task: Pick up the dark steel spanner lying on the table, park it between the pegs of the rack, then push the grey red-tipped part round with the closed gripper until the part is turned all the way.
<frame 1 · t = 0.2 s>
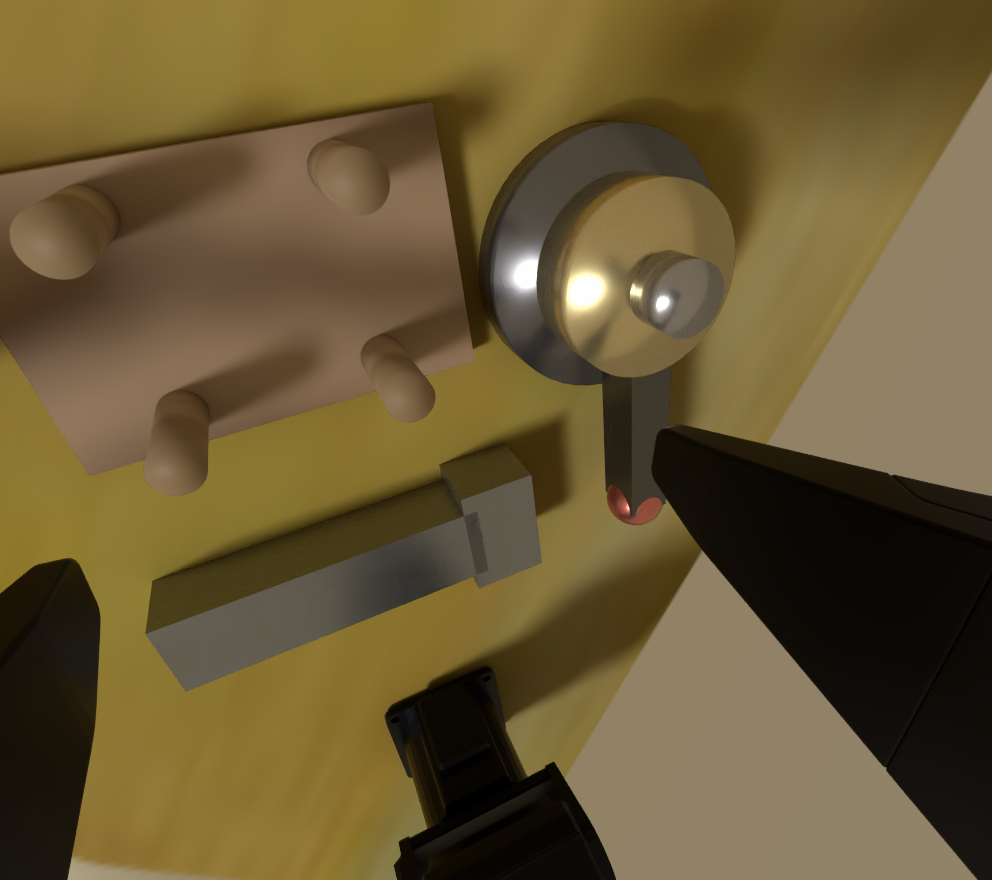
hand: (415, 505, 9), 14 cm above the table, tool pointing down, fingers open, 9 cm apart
grey red-tipped part: (635, 376, 24), point 3 cm above the table, hinge at 0.0°
spanner: (325, 552, 26), on the table
rack: (253, 287, 20), on the table
nut base: (591, 258, 24), on the table
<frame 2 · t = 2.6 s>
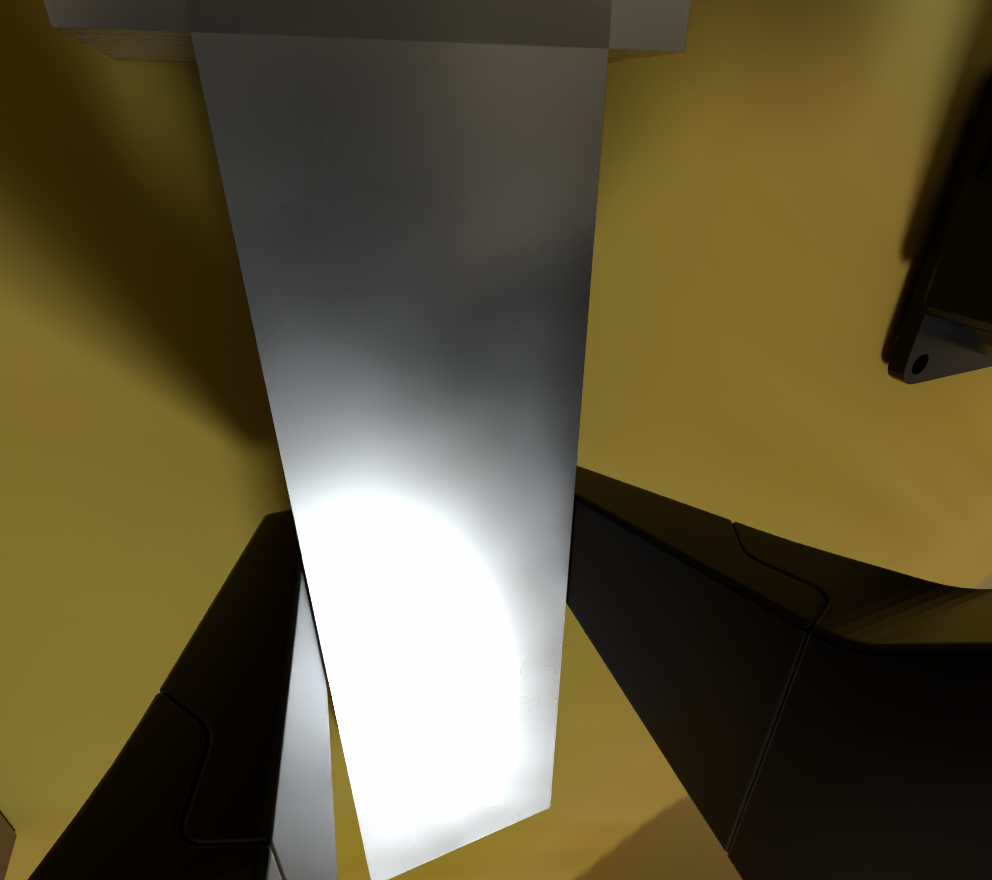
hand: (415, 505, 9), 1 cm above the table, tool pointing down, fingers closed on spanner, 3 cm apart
spanner: (396, 469, 10), on the table, touching gripper
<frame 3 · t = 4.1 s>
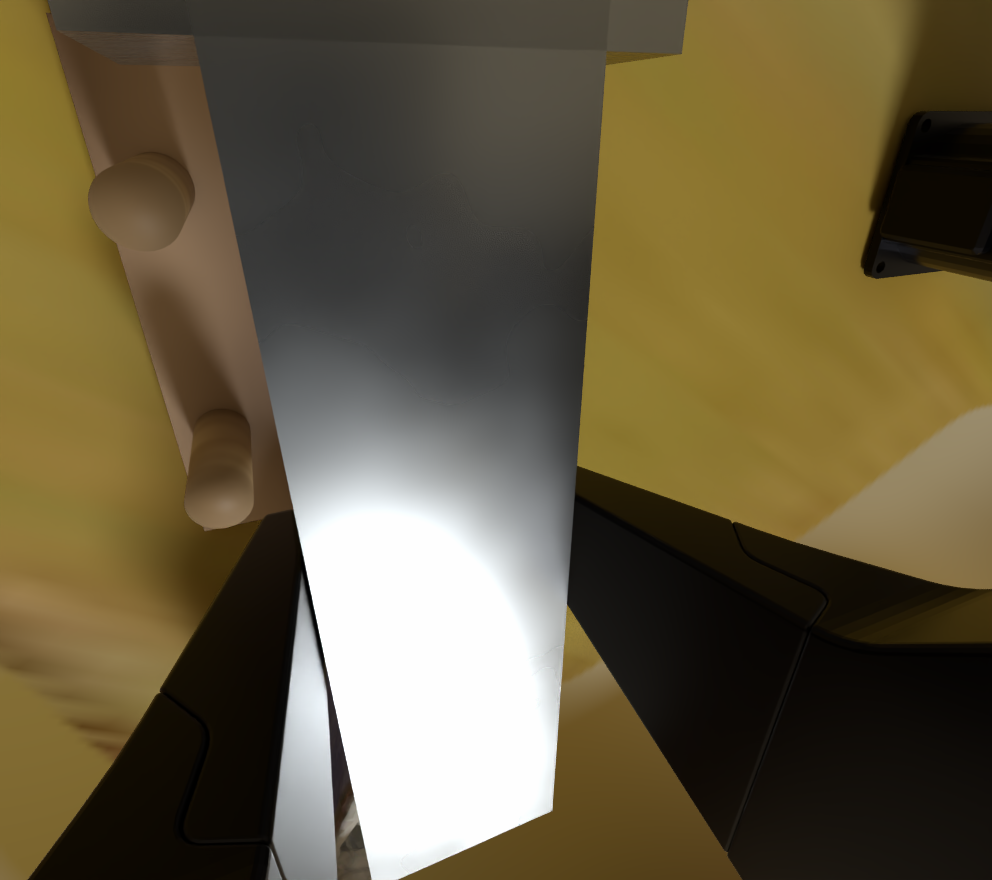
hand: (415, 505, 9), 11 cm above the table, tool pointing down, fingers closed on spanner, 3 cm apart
spanner: (397, 471, 10), point 10 cm above the table, touching gripper
rack: (308, 301, 18), on the table
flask: (313, 648, 25), on the table
when the fingers open (3 cm above the table, at t = 5.8 s): spanner stays where it is, resting on nut base, rack.
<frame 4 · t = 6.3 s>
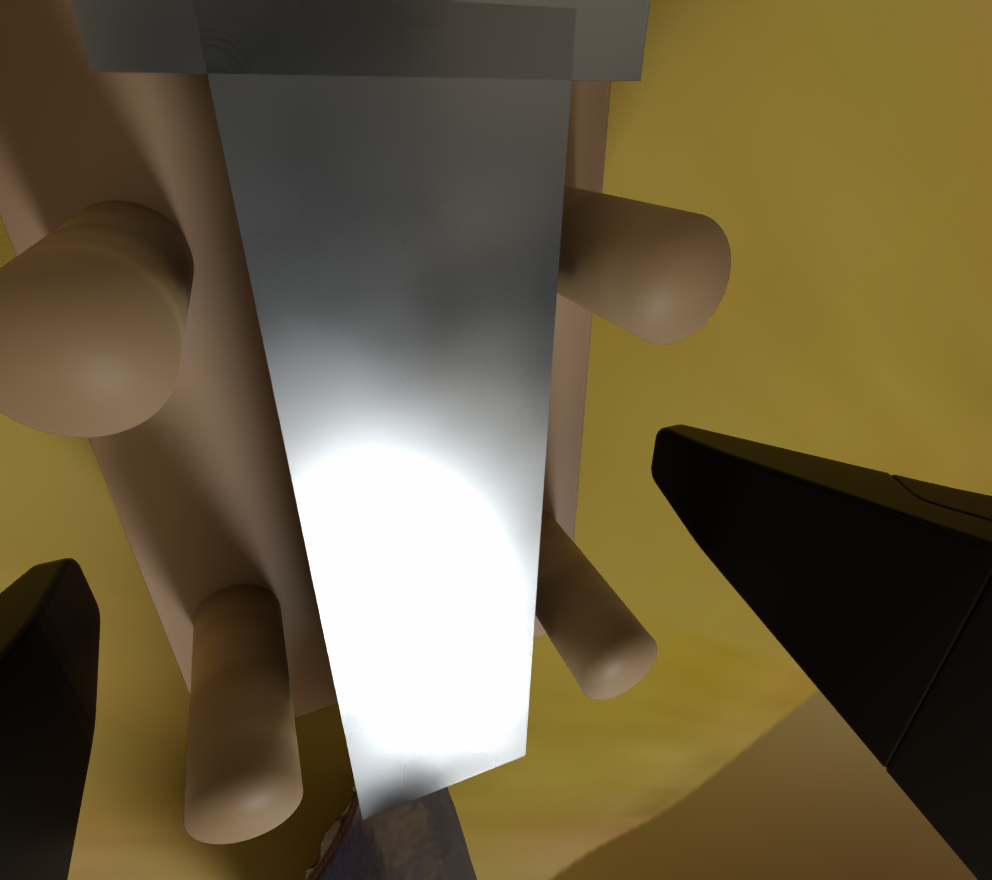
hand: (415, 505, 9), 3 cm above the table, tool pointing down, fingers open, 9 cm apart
spanner: (387, 446, 11), point 1 cm above the table, touching nut base, rack
rack: (367, 412, 12), on the table
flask: (355, 835, 19), on the table
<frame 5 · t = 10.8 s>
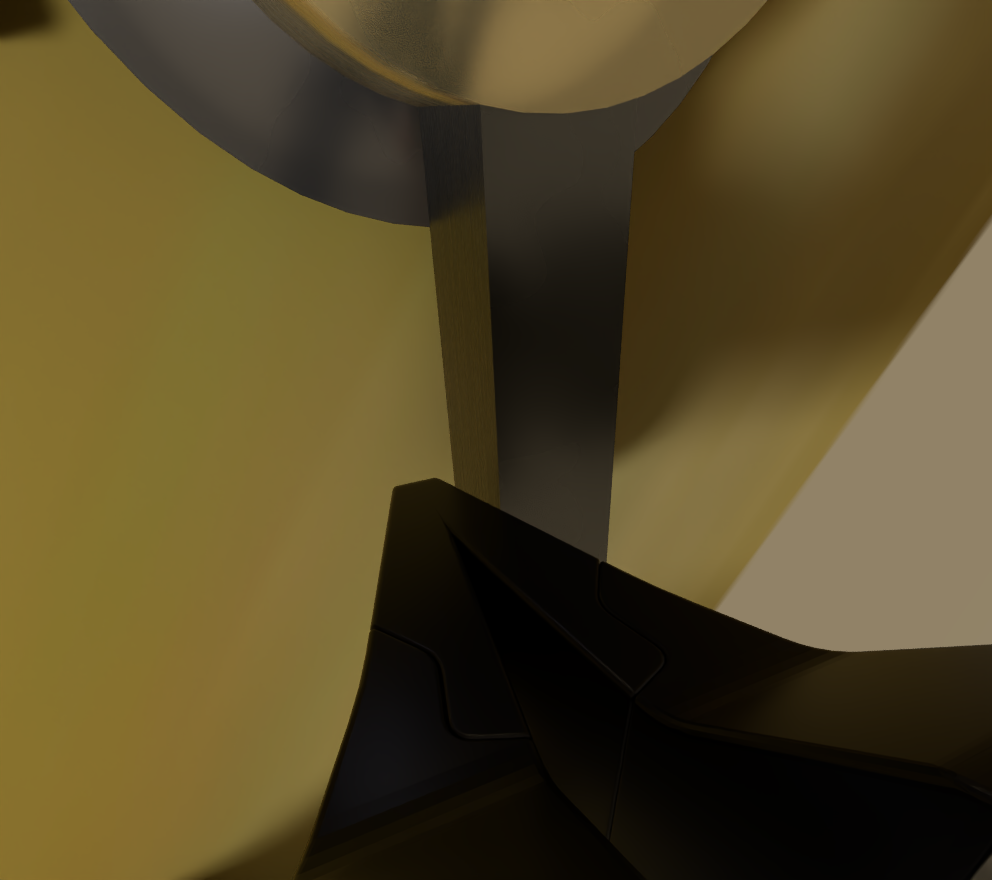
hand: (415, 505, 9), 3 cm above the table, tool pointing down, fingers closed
grey red-tipped part: (519, 173, 7), point 3 cm above the table, hinge at 0.0°, touching gripper
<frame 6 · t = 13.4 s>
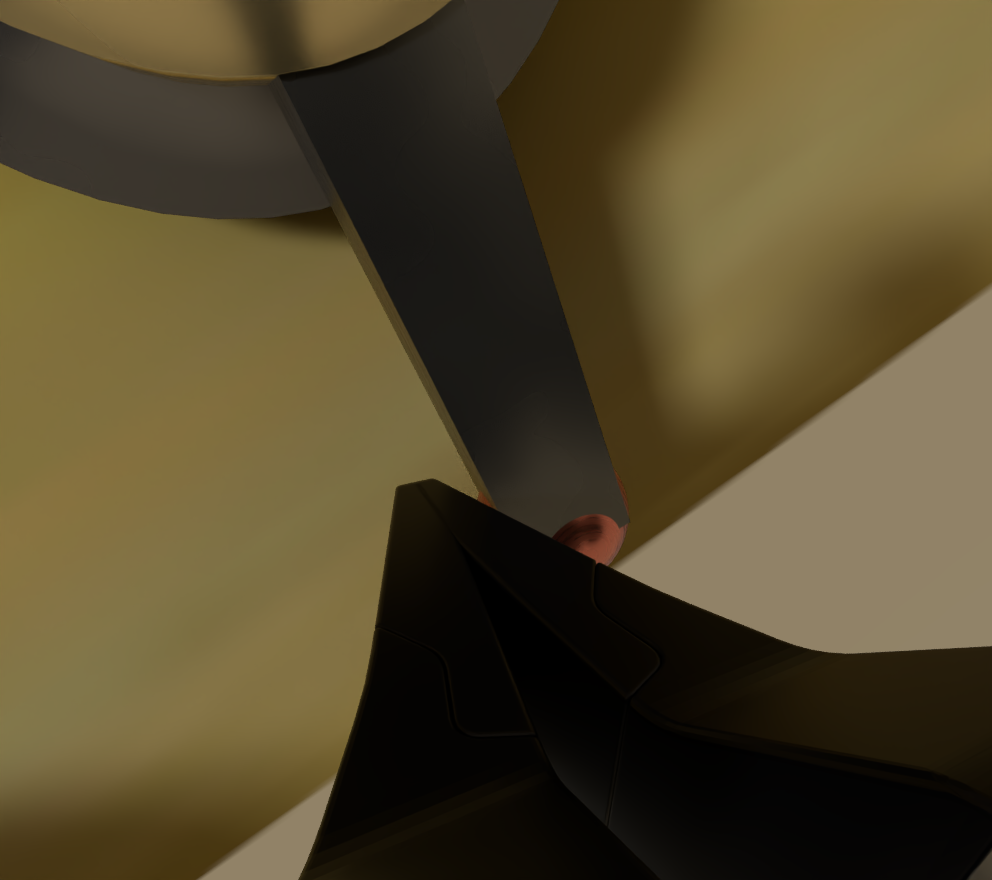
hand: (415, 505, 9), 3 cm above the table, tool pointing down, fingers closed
grey red-tipped part: (385, 123, 6), point 3 cm above the table, hinge at 49.4°, touching gripper
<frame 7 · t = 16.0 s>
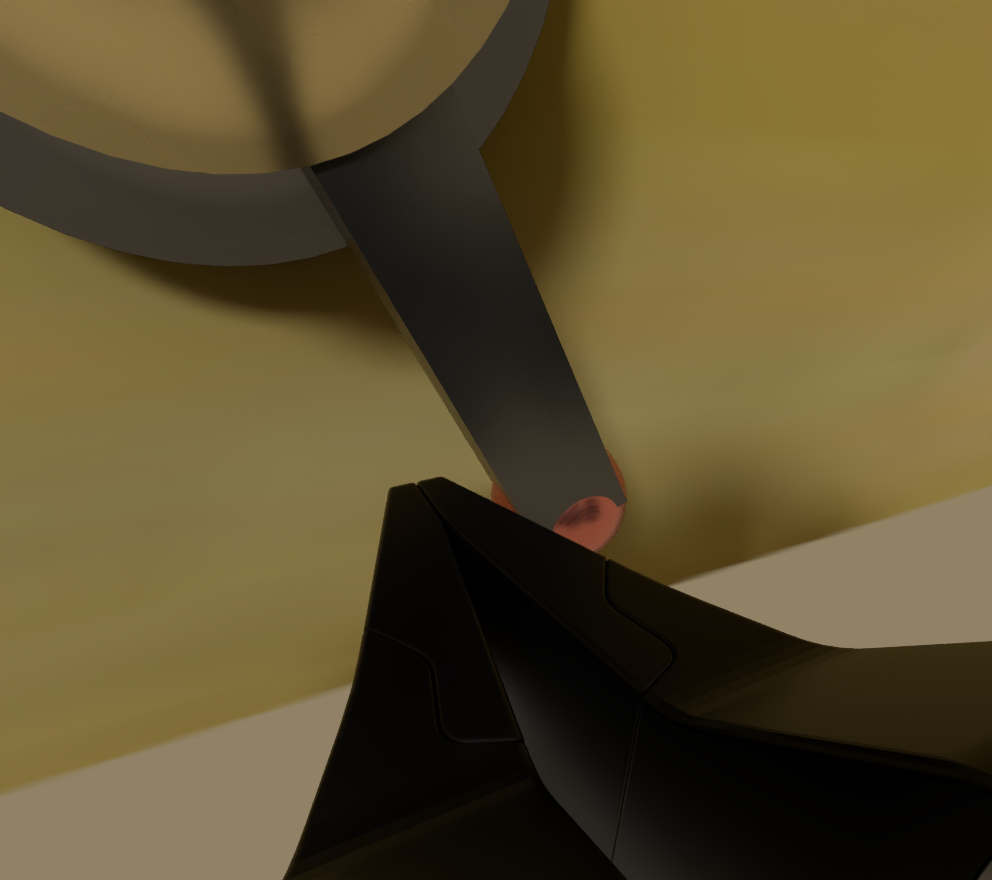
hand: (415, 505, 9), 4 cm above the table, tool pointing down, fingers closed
grey red-tipped part: (393, 181, 8), point 3 cm above the table, hinge at 84.3°
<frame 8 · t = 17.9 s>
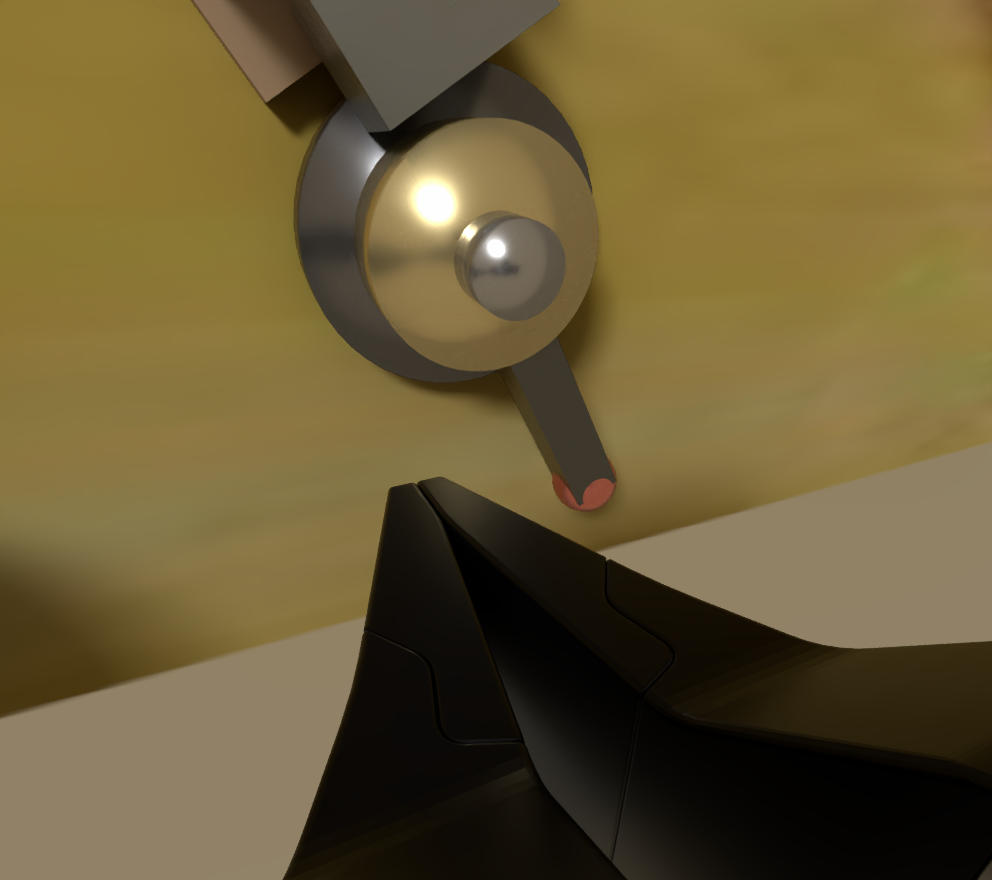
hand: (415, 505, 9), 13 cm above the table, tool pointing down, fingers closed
grey red-tipped part: (527, 356, 20), point 3 cm above the table, hinge at 84.4°
nut base: (444, 231, 20), on the table
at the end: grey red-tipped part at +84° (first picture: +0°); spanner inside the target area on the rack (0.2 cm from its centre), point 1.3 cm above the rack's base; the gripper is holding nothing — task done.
